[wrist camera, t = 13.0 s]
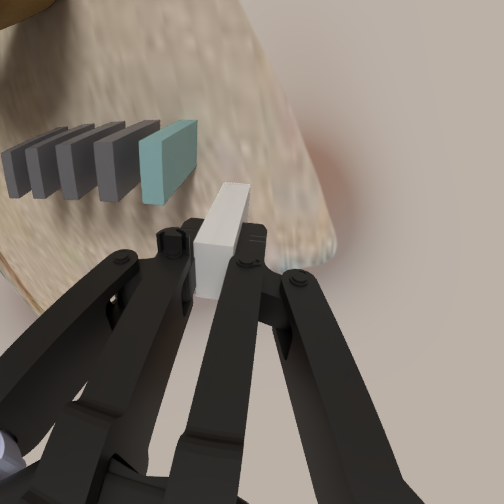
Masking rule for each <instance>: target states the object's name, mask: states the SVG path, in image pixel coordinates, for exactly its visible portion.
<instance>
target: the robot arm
mask: <svg viewBox="0 0 504 504" xmlns="http://www.w3.org/2000/svg"><path fill="white" fill-rule="evenodd" d="M250 185H251V184H241V183H231V182H224V183H223V185H222V187H221V189H220V191H219V192H218V194H217V196H216V198H215V200H214V202H213V204H212V206H211V208H210V210H209V212H208V214H207V216H206V218H205V219H199V218H190V219H188V220H187V221H185V222H184V223H183V225H182V227H181V228H178V227H170V228H165V229H163V230H160V231H159V232H158V233H157V234H156V237H157V246H158V253H157V255H156V256H155V258H149V259H138V255H137V253H136V252H134V251H133V250H128V249H124V250H123V249H122V250H118V251H115V252H113V253H112V254H110V255H109V256H108V257H106V258H105V259H104V260H103V261H102V262H100V263H99V264H98V265H97V266H96V267H94V268H93V269H92V270H91V271H90V272H89V273H87V274H86V275H85V276H84V277H83V278H82V279H80V280H79V281H78V282H77V283H76V284H75V285H74V286H73V287H71V288H70V289H69V290H68V291H67V292H66V293H65V294H64V295H62V296H61V297H60V298H59V299H58V300H57V301H56V302H55V303H54V304H53V305H52V306H51V307H49V308H48V309H47V310H46V311H45V312H44V313H43V314H42V315H41V316H40V317H39V318H38V319H37V320H36V321H35V322H34V323H33V324H32V325H31V326H30V327H29V328H28V329H27V330H26V331H25V332H24V333H23V334H22V335H21V336H20V337H19V338H18V339H17V340H16V341H15V342H14V343H13V344H12V345H11V346H10V347H9V348H8V349H7V350H6V351H5V352H4V354H3V355H2V356H1V357H0V504H249V503H247V502H246V501H245V500H243V499H241V498H240V497H238V496H237V495H238V487H239V479H240V472H241V464H242V456H243V447H244V436H245V429H246V420H247V412H248V403H249V395H250V387H251V379H252V369H253V361H254V353H255V344H256V335H257V326H258V321H259V322H262V323H264V324H267V325H270V326H272V331H273V335H274V339H275V342H276V346H277V350H278V354H279V358H280V362H281V365H282V369H283V373H284V376H285V381H286V385H287V388H288V392H289V396H290V400H291V403H292V407H293V411H294V415H295V419H296V423H297V427H298V430H299V434H300V438H301V442H302V446H303V450H304V453H305V457H306V461H307V465H308V468H309V472H310V476H311V480H312V484H313V488H314V492H315V495H316V498H317V501H318V504H424V502H423V501H422V500H421V499H420V498H419V497H418V496H417V494H416V493H415V492H414V491H413V490H412V489H411V488H410V487H409V486H408V484H407V483H406V482H405V481H404V480H403V478H402V475H401V473H400V470H399V467H398V465H397V462H396V459H395V457H394V454H393V451H392V449H391V446H390V444H389V441H388V439H387V436H386V434H385V431H384V429H383V426H382V424H381V421H380V419H379V417H378V414H377V412H376V410H375V407H374V404H373V402H372V400H371V397H370V395H369V393H368V390H367V388H366V386H365V383H364V381H363V379H362V377H361V374H360V372H359V370H358V367H357V365H356V363H355V361H354V358H353V356H352V354H351V352H350V349H349V347H348V345H347V343H346V341H345V338H344V336H343V334H342V332H341V330H340V328H339V325H338V324H337V321H336V319H335V317H334V315H333V313H332V311H331V308H330V306H329V305H328V302H327V300H326V298H325V296H324V294H323V292H322V290H321V288H320V286H319V284H318V281H317V279H316V278H315V277H314V276H313V275H312V274H310V273H309V272H307V271H304V270H301V269H291V270H287V271H286V272H284V273H283V274H282V275H280V274H278V273H275V272H273V271H271V270H270V269H269V268H268V267H267V266H266V265H265V262H264V257H265V247H266V237H267V229H266V228H265V226H264V225H263V224H254V223H247V222H248V210H249V197H250ZM195 290H196V297H199V298H207V299H214V300H218V304H217V308H216V312H215V315H214V319H213V323H212V326H211V330H210V334H209V338H208V342H207V346H206V350H205V353H204V357H203V361H202V365H201V369H200V374H199V377H198V381H197V385H196V389H195V393H194V397H193V401H192V406H191V409H190V413H189V418H188V422H187V426H186V429H185V432H184V433H183V434H182V435H181V436H180V438H179V440H178V443H177V446H176V450H175V454H174V458H173V463H172V467H171V471H170V475H169V477H153V476H146V473H147V468H148V460H149V458H148V447H149V443H150V440H151V436H152V433H153V429H154V426H155V422H156V419H157V416H158V412H159V409H160V406H161V402H162V399H163V396H164V392H165V389H166V386H167V383H168V379H169V377H170V373H171V370H172V367H173V364H174V361H175V357H176V355H177V351H178V348H179V345H180V342H181V339H182V336H183V333H184V330H185V327H186V324H187V321H188V318H189V316H190V312H191V309H192V306H193V293H194V291H195ZM114 295H115V298H116V299H115V300H114V301H112V302H111V301H110V299H111V298H112V297H113V296H114ZM87 381H88V382H87ZM86 382H87V384H86ZM85 384H86V386H85V388H84V390H83V393H82V395H81V397H80V398H79V399H78V400H77V401H72V400H73V399H74V397H75V396H76V395H77V394H78V392H79V391H80V390H81V389H82V387H83V386H84V385H85ZM55 422H56V423H55ZM54 423H55V425H54ZM53 425H54V427H53V430H52V432H51V434H50V437H49V439H48V442H47V444H46V446H45V449H44V451H43V454H42V457H41V459H40V460H38V461H37V462H35V463H33V464H31V465H29V466H27V467H26V463H25V460H24V459H23V458H22V457H23V456H25V455H26V454H28V453H29V452H30V451H31V450H32V449H34V448H35V447H36V446H37V445H38V444H39V442H40V441H41V440H42V439H43V438H44V436H45V435H46V434H47V433H48V431H49V430H50V429H51V427H52V426H53Z"/></svg>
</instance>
